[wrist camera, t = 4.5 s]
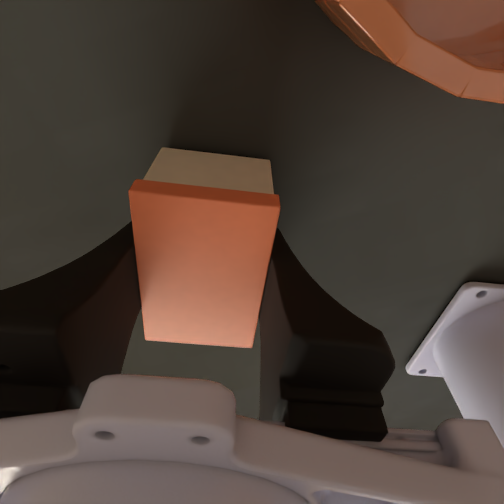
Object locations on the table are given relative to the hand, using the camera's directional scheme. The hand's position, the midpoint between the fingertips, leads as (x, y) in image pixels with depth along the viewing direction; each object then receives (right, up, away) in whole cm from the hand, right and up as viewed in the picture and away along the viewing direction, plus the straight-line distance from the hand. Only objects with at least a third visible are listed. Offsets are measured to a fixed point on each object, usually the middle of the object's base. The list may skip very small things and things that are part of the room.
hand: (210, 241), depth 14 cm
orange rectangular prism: (0, +1, +1) cm, 1 cm away
